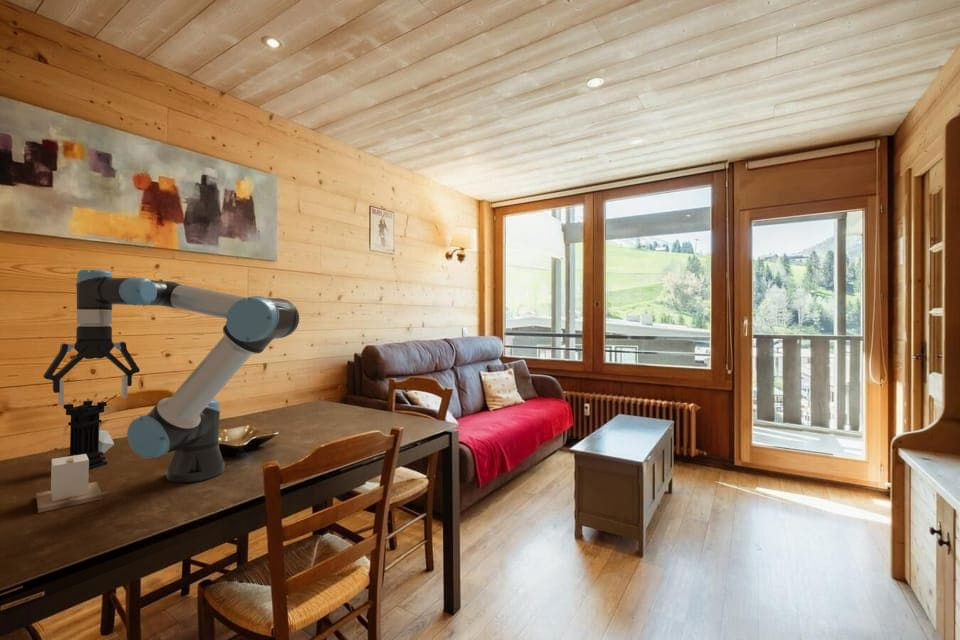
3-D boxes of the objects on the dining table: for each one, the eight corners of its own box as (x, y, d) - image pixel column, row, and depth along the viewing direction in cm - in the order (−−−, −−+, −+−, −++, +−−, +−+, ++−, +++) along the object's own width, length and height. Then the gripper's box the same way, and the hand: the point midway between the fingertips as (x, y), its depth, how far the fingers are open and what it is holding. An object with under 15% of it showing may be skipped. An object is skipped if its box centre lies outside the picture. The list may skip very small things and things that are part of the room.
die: (120, 453, 155) (111, 427, 157) (110, 447, 147) (102, 420, 150) (89, 465, 150) (81, 439, 153) (78, 460, 143) (70, 432, 146)
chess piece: (80, 472, 134) (81, 406, 134) (59, 469, 136) (61, 404, 136) (107, 464, 142) (108, 401, 142) (87, 461, 144) (88, 400, 143)
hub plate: (96, 485, 125) (96, 480, 125) (102, 499, 117) (102, 493, 117) (36, 497, 116) (36, 492, 116) (38, 512, 108) (38, 507, 108)
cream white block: (85, 486, 122) (86, 451, 121) (88, 493, 117) (88, 458, 117) (50, 492, 117) (51, 457, 116) (52, 501, 112) (53, 463, 112)
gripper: (144, 324, 136) (144, 393, 136) (29, 325, 117) (29, 405, 117) (152, 325, 131) (151, 396, 131) (33, 326, 112) (33, 409, 112)
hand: (94, 401), depth 124 cm, fingers open, 13 cm apart
